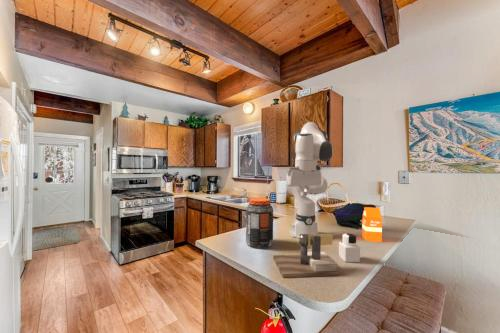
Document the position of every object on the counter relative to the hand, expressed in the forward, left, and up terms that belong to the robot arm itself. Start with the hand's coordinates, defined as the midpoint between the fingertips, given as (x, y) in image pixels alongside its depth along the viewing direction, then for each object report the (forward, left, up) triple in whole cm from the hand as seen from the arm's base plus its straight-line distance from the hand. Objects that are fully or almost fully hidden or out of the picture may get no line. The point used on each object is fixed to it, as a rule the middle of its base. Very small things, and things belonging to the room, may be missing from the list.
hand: (304, 195), depth 104 cm
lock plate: (+7, -2, -31) cm, 32 cm away
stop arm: (+7, +3, -21) cm, 22 cm away
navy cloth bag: (-54, +59, -31) cm, 86 cm away
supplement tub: (-22, -18, -31) cm, 42 cm away
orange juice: (-26, +54, -31) cm, 68 cm away
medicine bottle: (+1, +23, -31) cm, 39 cm away
